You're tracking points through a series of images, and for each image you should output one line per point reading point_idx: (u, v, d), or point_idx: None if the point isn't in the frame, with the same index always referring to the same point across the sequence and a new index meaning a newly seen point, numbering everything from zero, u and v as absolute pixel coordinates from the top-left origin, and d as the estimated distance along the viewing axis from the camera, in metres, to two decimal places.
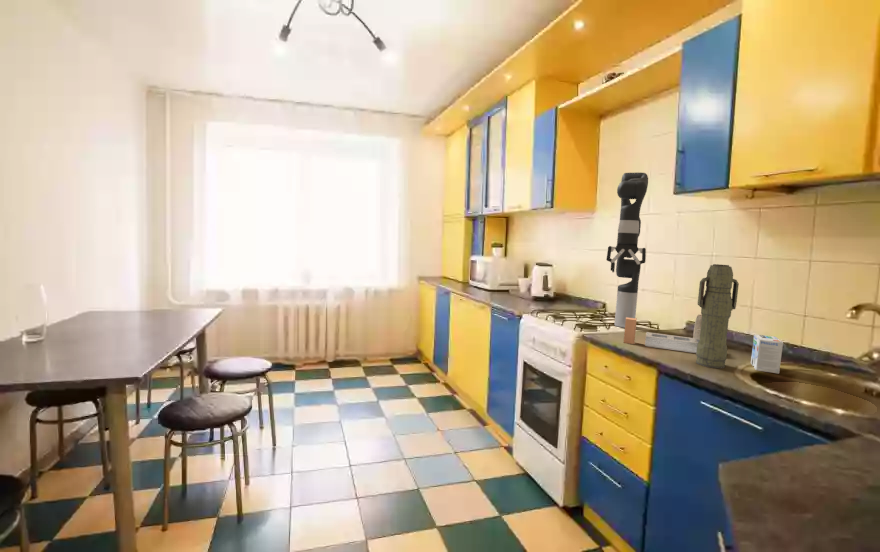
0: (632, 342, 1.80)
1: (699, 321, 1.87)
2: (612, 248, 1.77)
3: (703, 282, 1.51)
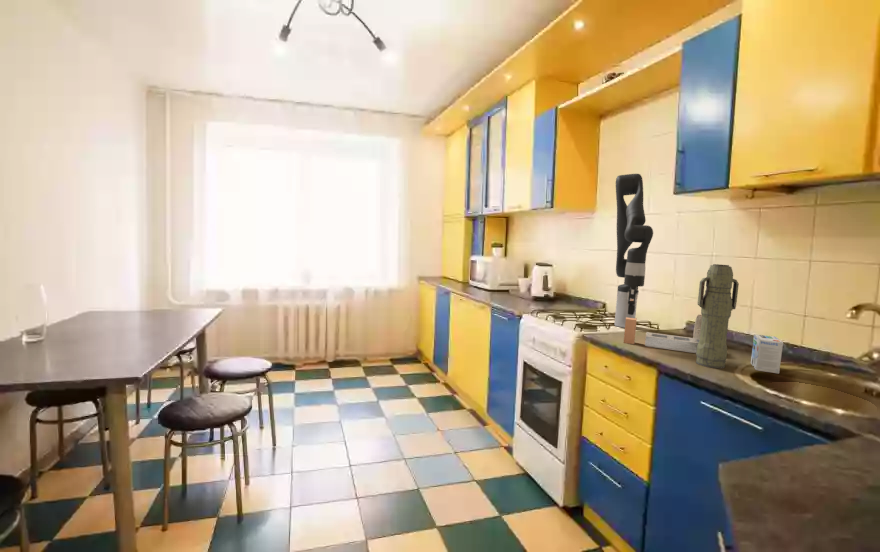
0: (632, 342, 1.80)
1: (699, 321, 1.87)
2: None
3: (703, 282, 1.51)
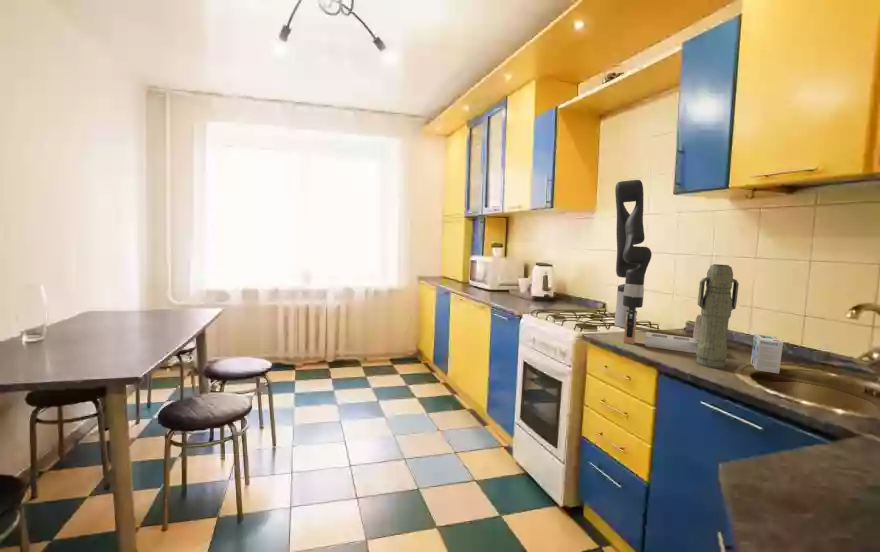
0: (632, 342, 1.81)
1: (699, 321, 1.87)
2: None
3: (703, 282, 1.51)
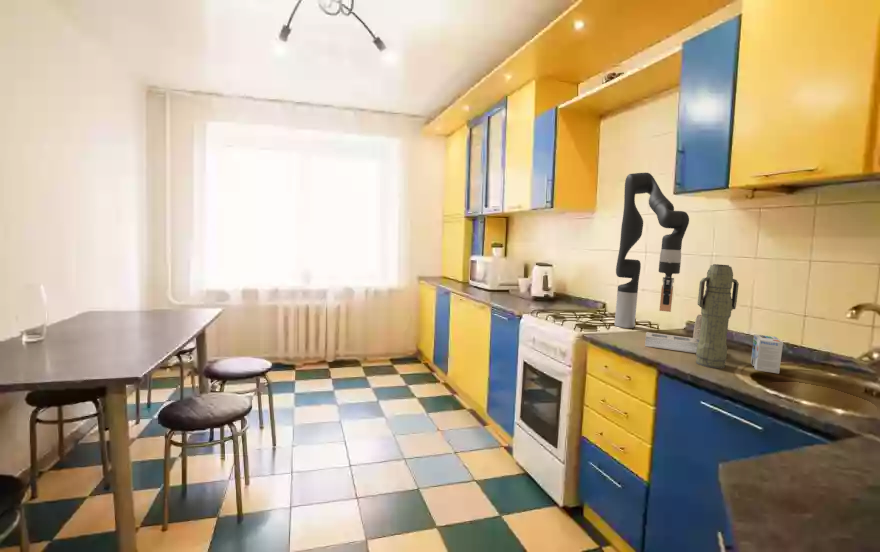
0: (668, 310, 1.75)
1: (699, 321, 1.87)
2: None
3: (703, 282, 1.51)
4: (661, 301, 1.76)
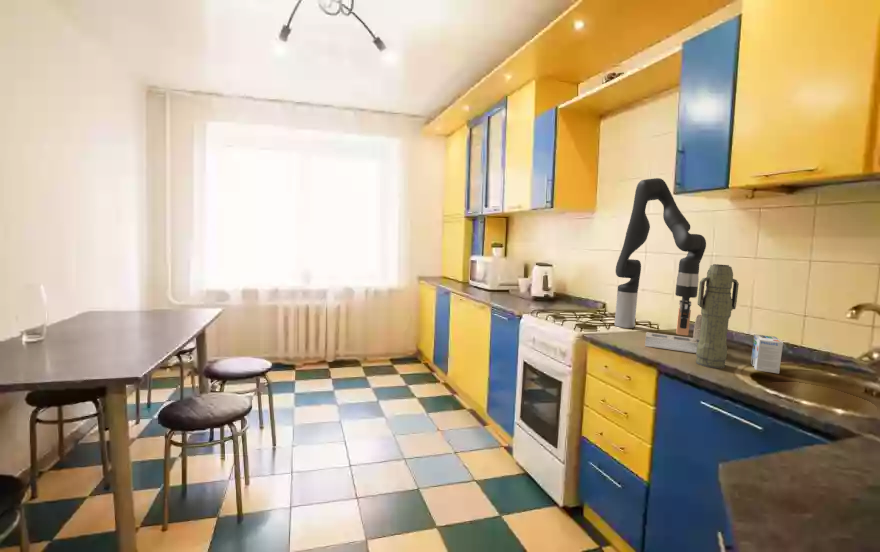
0: (686, 333, 1.74)
1: (699, 321, 1.87)
2: None
3: (703, 282, 1.51)
4: (678, 325, 1.75)
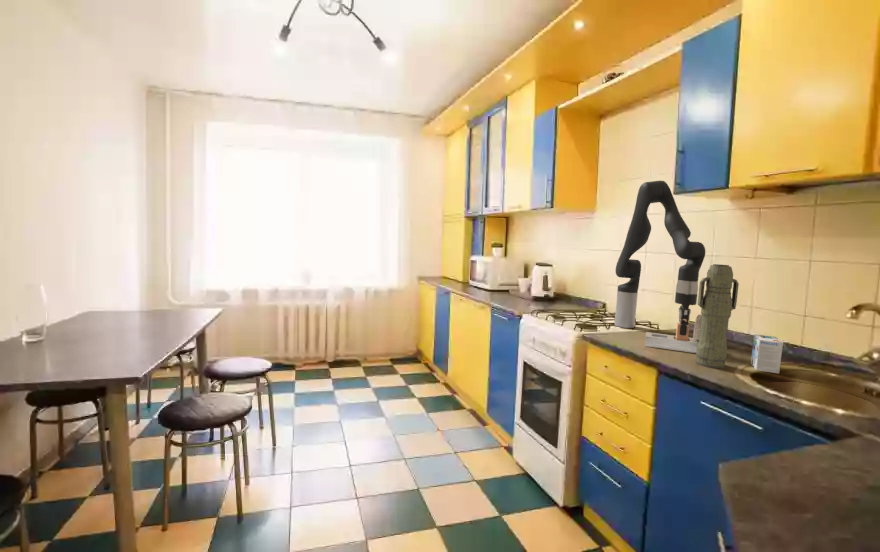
0: None
1: (699, 321, 1.87)
2: None
3: (703, 282, 1.51)
4: None
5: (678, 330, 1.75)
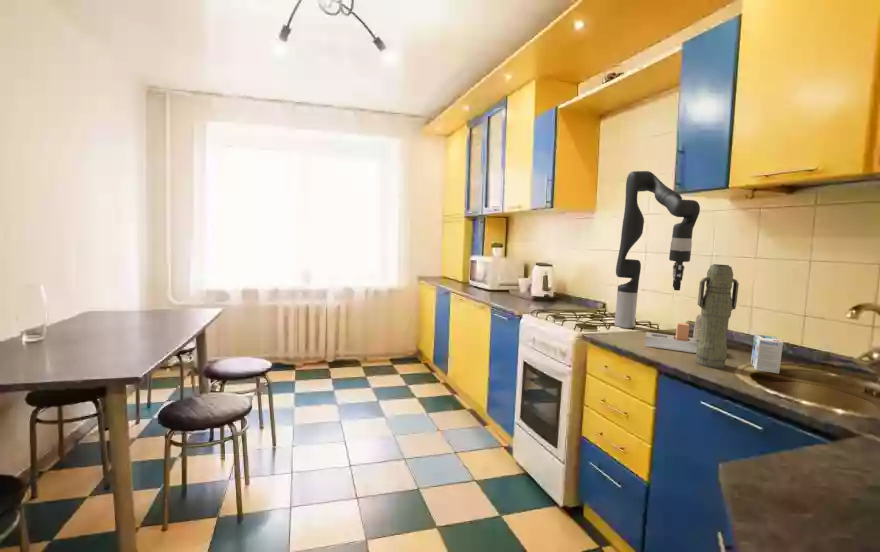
0: None
1: (699, 321, 1.87)
2: None
3: (703, 282, 1.51)
4: None
5: (678, 330, 1.75)
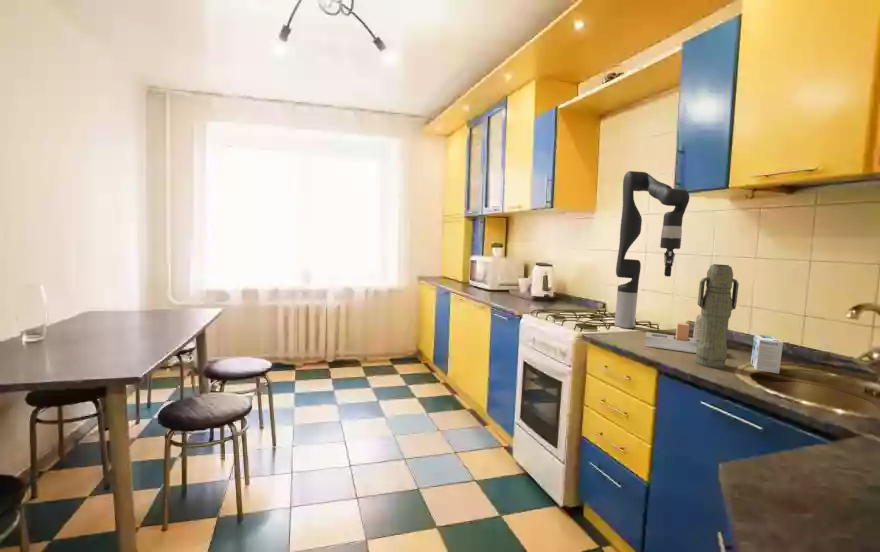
0: None
1: (699, 321, 1.87)
2: None
3: (703, 282, 1.51)
4: None
5: (678, 330, 1.75)
